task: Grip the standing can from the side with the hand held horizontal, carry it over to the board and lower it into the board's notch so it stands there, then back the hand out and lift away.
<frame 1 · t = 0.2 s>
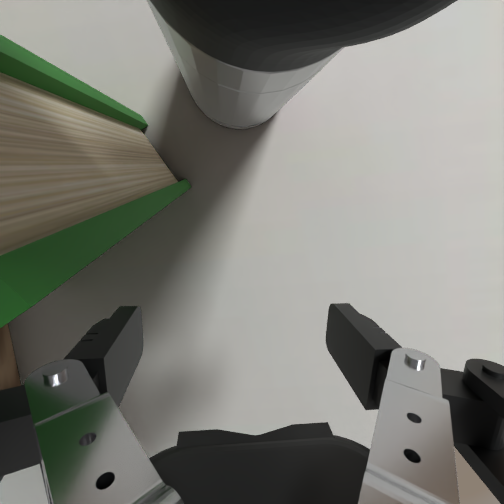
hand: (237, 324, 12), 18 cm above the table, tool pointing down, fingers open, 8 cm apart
can: (58, 429, 35), on the table
hardback book: (93, 205, 27), on the table
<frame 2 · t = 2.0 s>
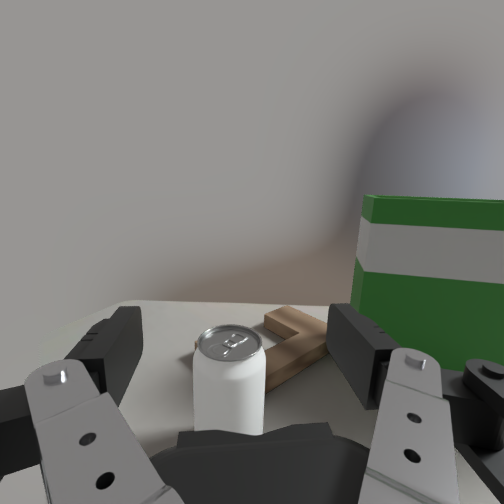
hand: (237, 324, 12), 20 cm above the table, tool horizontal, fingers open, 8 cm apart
can: (228, 450, 28), on the table
notched board: (271, 350, 44), on the table
hardback book: (411, 369, 41), on the table
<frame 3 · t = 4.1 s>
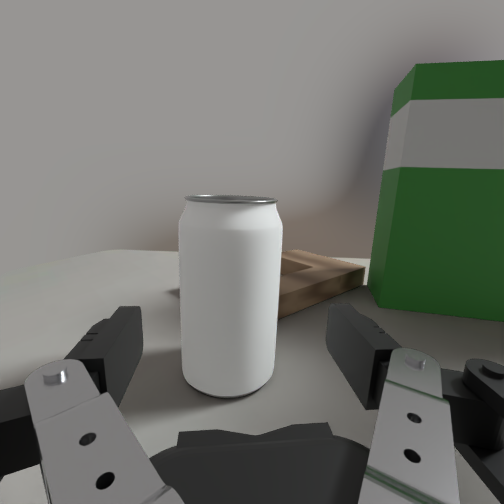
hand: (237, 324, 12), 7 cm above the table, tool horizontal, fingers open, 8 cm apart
can: (228, 370, 20), on the table
notched board: (280, 287, 36), on the table
hardback book: (451, 305, 33), on the table
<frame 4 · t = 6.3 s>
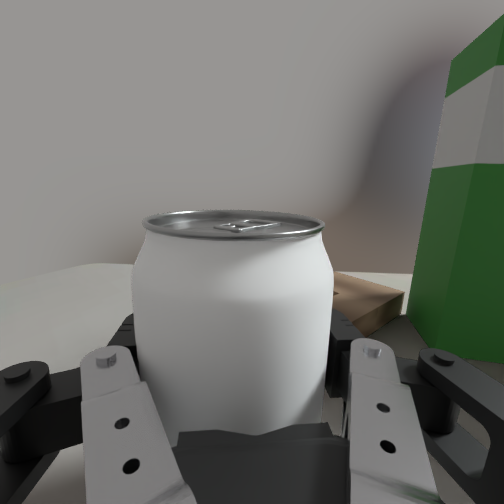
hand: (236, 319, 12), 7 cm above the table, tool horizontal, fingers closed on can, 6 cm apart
notched board: (297, 319, 28), on the table
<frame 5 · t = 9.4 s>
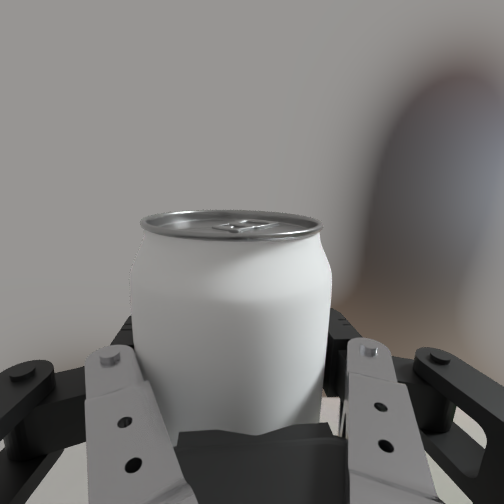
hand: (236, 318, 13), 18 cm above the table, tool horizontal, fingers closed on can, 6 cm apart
when the fingers open (8 cm above the table, at t = 12.4 s): can drops 1 cm, on the table.
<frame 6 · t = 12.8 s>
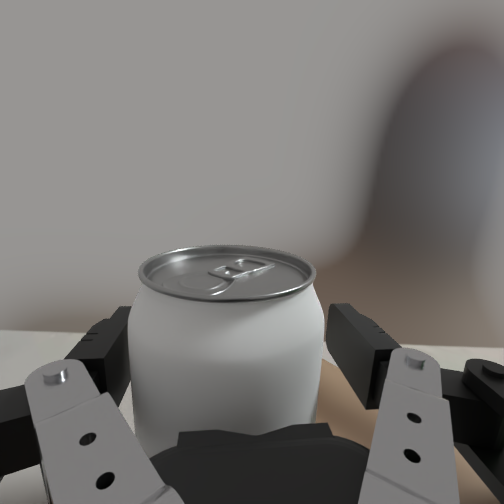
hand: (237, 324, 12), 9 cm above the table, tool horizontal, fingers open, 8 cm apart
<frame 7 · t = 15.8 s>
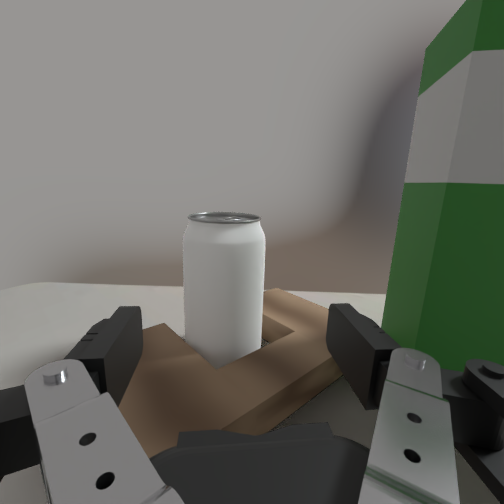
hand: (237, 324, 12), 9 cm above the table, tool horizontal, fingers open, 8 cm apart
can: (223, 355, 25), on the table
notched board: (242, 364, 23), on the table
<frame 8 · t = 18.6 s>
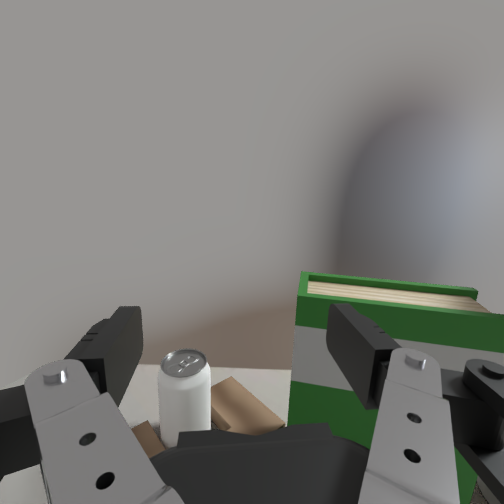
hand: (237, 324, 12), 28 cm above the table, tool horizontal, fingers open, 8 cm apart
can: (186, 440, 38), on the table
notched board: (197, 449, 37), on the table
hardback book: (359, 482, 33), on the table
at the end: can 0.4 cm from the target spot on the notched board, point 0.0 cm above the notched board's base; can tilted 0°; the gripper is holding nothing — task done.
